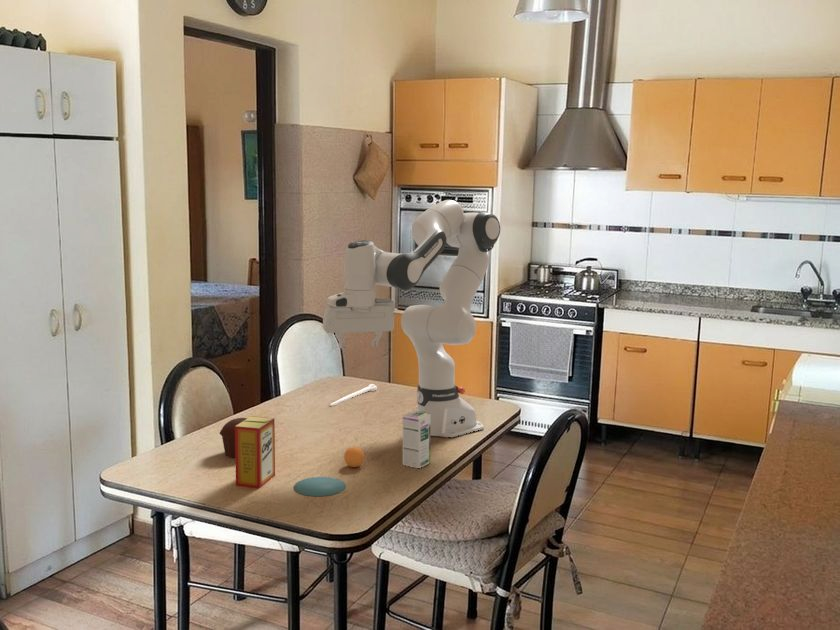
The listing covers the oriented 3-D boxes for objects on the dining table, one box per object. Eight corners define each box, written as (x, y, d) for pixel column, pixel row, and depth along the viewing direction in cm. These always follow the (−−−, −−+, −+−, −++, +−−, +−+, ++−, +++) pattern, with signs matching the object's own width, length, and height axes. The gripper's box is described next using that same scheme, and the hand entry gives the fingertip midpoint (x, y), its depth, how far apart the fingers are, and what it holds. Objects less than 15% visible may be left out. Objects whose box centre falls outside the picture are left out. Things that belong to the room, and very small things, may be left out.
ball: (358, 462, 228) (359, 442, 227) (367, 468, 223) (367, 448, 222) (340, 465, 225) (340, 445, 224) (349, 471, 221) (349, 451, 220)
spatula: (337, 409, 282) (337, 401, 281) (327, 407, 283) (327, 399, 283) (379, 391, 306) (379, 383, 306) (369, 389, 308) (369, 382, 308)
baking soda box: (259, 488, 207) (258, 427, 205) (235, 485, 209) (234, 424, 206) (275, 475, 217) (274, 416, 214) (252, 473, 218) (251, 414, 215)
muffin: (248, 444, 241) (247, 411, 239) (269, 454, 233) (269, 420, 232) (212, 453, 233) (211, 419, 231) (233, 463, 225) (232, 428, 223)
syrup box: (419, 469, 223) (420, 417, 221) (401, 465, 226) (402, 414, 224) (430, 463, 228) (431, 412, 225) (412, 459, 231) (413, 409, 228)
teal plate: (333, 474, 218) (333, 473, 218) (354, 490, 207) (354, 490, 207) (286, 482, 212) (286, 481, 212) (305, 499, 200) (305, 499, 200)
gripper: (391, 296, 237) (390, 343, 239) (321, 298, 231) (321, 346, 233) (398, 299, 231) (396, 348, 233) (326, 301, 225) (326, 350, 227)
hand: (358, 347), depth 233 cm, fingers open, 8 cm apart
